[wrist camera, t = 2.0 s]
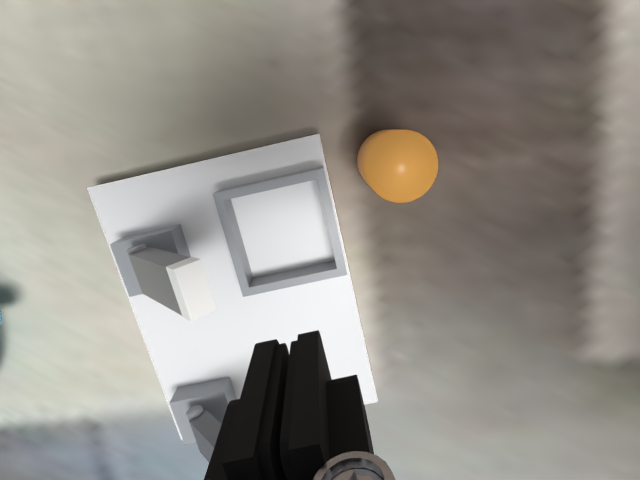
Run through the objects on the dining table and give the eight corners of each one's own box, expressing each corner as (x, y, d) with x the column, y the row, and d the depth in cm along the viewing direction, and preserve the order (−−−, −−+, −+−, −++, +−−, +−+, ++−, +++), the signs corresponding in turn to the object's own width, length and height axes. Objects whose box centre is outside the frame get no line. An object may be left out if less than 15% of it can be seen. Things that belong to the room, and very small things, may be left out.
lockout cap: (410, 123, 30) (432, 122, 24) (420, 182, 31) (443, 194, 25) (351, 137, 30) (359, 139, 24) (363, 194, 31) (373, 209, 26)
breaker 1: (143, 242, 28) (199, 255, 21) (158, 285, 29) (217, 312, 21) (122, 250, 27) (172, 266, 20) (138, 293, 28) (192, 324, 21)
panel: (319, 133, 30) (319, 133, 26) (374, 387, 36) (381, 418, 32) (101, 184, 31) (70, 192, 27) (188, 423, 37) (173, 458, 33)
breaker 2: (199, 402, 31) (260, 458, 24) (211, 436, 32) (274, 500, 25) (182, 412, 31) (240, 474, 24) (195, 447, 31) (255, 517, 24)
